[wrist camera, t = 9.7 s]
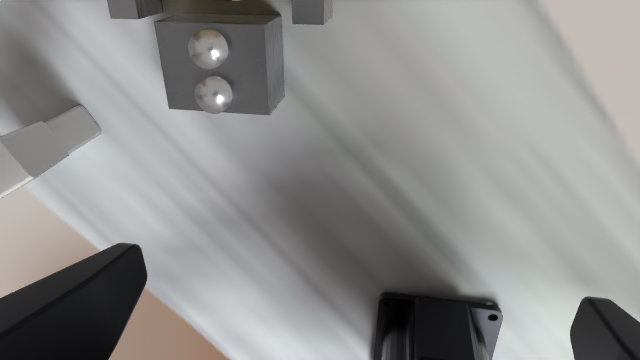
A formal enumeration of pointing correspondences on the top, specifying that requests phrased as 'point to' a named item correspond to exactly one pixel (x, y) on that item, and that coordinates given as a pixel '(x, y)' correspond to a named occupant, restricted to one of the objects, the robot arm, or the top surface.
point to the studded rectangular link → (222, 55)
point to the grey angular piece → (42, 146)
